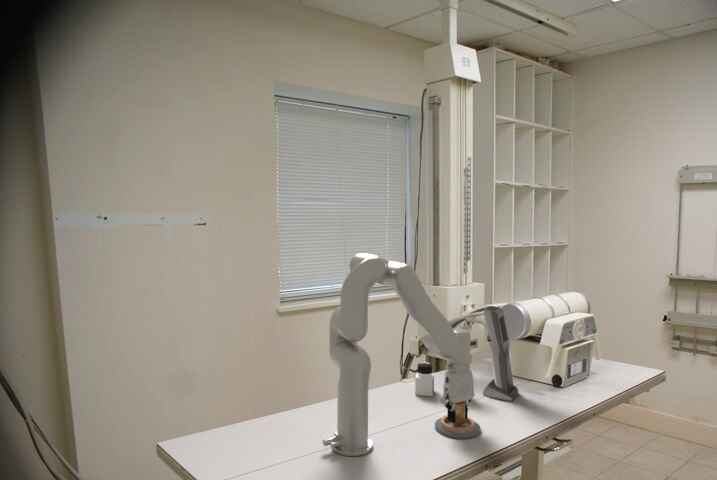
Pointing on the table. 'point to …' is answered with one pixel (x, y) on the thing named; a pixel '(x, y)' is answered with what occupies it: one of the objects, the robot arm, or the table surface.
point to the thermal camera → (499, 356)
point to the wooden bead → (459, 413)
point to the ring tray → (454, 435)
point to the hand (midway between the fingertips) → (457, 418)
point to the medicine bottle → (424, 380)
